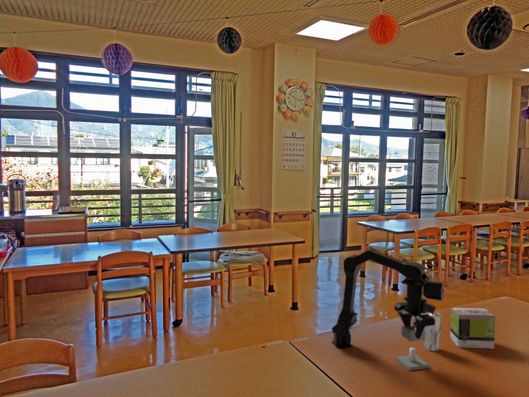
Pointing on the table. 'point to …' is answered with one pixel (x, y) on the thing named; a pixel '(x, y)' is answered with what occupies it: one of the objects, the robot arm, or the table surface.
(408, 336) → the square ring block
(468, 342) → the tea box
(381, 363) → the table surface
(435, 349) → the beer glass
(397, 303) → the robot arm
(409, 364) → the shaft block
